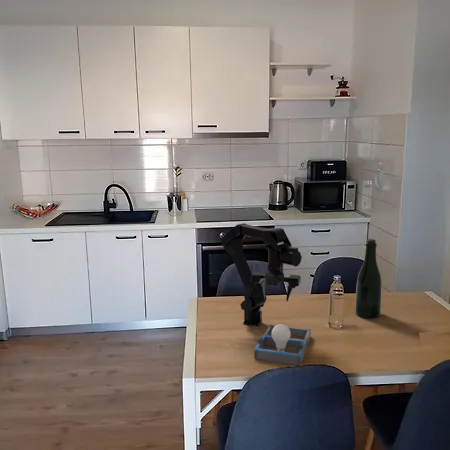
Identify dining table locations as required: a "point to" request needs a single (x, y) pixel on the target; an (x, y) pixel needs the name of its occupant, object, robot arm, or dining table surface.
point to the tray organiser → (291, 344)
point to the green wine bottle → (369, 285)
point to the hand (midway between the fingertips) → (275, 300)
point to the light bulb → (281, 336)
